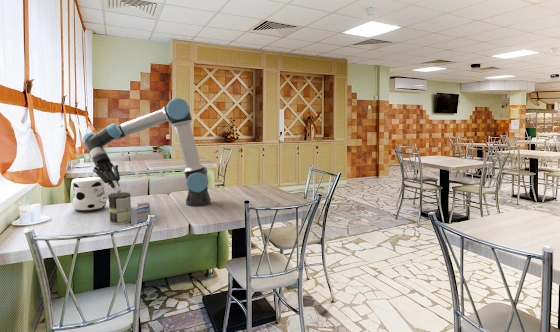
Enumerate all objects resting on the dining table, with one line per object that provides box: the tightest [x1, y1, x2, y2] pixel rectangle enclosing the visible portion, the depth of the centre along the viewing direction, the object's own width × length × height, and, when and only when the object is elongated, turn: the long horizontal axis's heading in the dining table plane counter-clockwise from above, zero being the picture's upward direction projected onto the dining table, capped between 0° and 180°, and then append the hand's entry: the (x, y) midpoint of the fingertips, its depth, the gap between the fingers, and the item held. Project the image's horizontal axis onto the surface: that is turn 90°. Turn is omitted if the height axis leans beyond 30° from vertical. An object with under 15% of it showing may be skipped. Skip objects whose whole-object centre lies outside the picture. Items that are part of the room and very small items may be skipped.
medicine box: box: [130, 205, 151, 226], centre depth 172 cm, size 8×4×9 cm, turn 148°
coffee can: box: [107, 191, 132, 225], centre depth 176 cm, size 10×10×14 cm
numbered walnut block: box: [137, 202, 151, 207], centre depth 185 cm, size 6×6×7 cm
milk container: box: [72, 176, 108, 212], centre depth 200 cm, size 17×17×18 cm
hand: (118, 192), depth 175 cm, fingers closed
